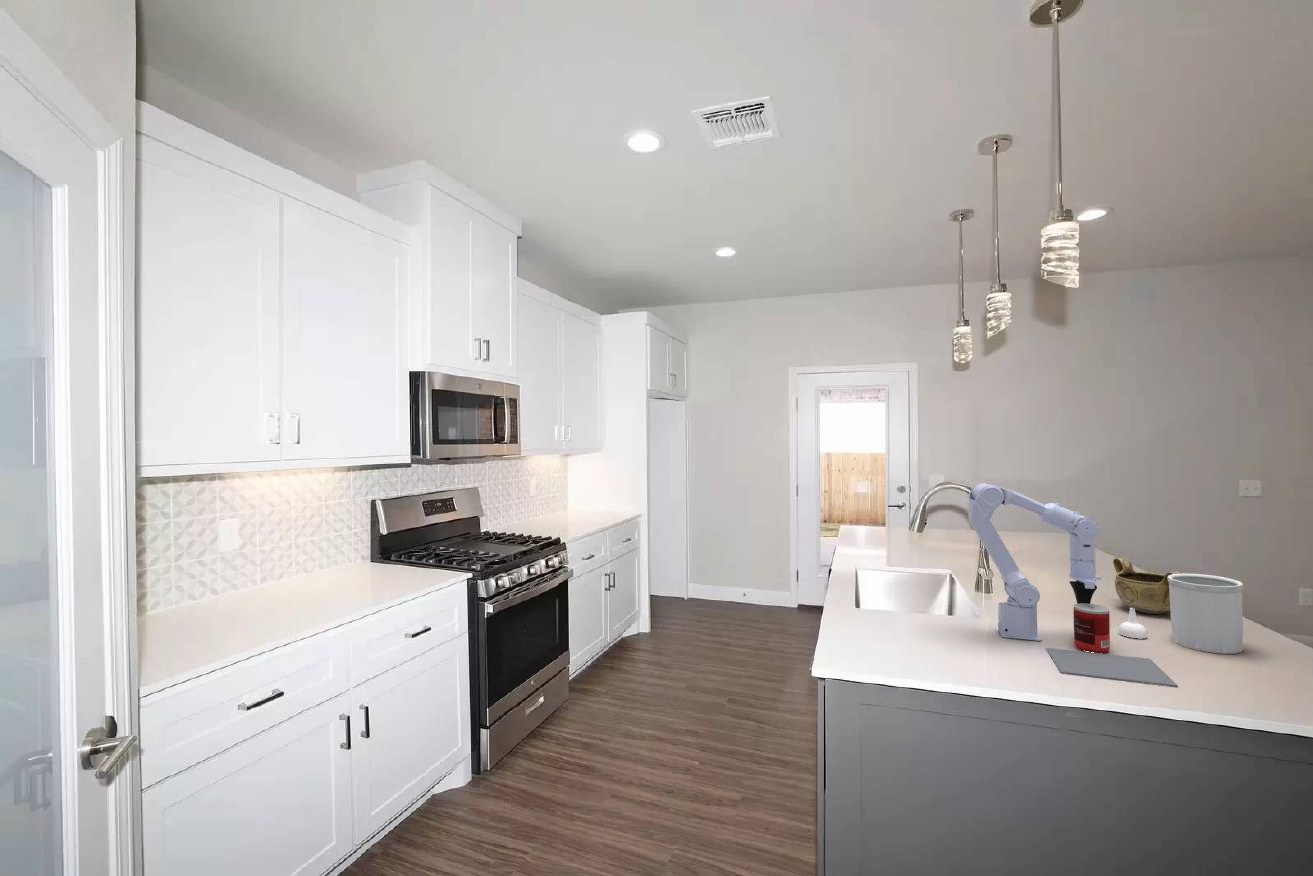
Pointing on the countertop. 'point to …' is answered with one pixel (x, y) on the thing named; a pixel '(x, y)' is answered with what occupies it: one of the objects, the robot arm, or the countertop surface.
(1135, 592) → the ceramic bowl
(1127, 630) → the garlic bulb
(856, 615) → the countertop surface
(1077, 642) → the canned food
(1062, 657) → the slate mat
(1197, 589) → the utensil holder
